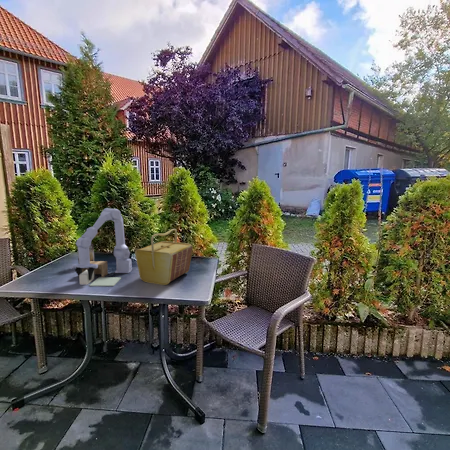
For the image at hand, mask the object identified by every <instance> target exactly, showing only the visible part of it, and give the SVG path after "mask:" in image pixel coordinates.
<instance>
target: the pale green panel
mask: <svg viewBox="0 0 450 450" xmlns="http://www.w3.org/2000/svg"><path fill="white" fill-rule="evenodd" d="M121 279H122V277H120V276H119V277H116V276H115V277H114V276H113V277H111V276H110V277H107V276H105V277H102V276H99V277H98V278H96V279H94V280H93V281H91V282H90V283H89V284H88V286H89V287H114V286H115V285H117V284H118V282H119V281H121Z"/></svg>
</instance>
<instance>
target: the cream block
mask: <svg viewBox="0 0 450 450" xmlns="http://www.w3.org/2000/svg"><path fill="white" fill-rule="evenodd" d="M78 279H79V285H81V286H82V285H87V286H89V285H90V284H91V283H92V282H93V281H95V274H94V271H93V274H92V279H91V280H89V275H88V271H87V270H85V271H84V272H83V273H81V274H80V275H79V277H78Z"/></svg>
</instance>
